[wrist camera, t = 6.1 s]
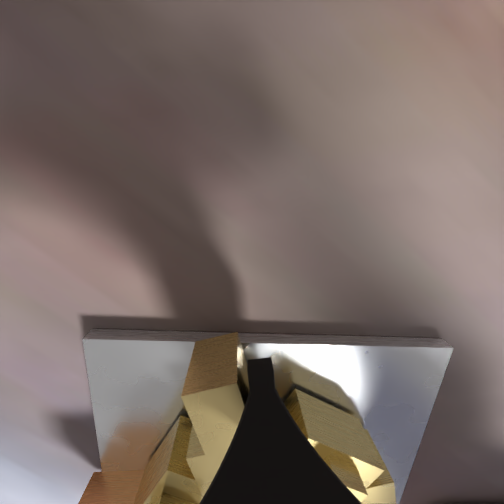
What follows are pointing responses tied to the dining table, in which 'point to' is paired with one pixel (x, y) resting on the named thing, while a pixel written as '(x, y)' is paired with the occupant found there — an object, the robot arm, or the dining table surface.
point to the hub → (286, 381)
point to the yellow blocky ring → (226, 422)
